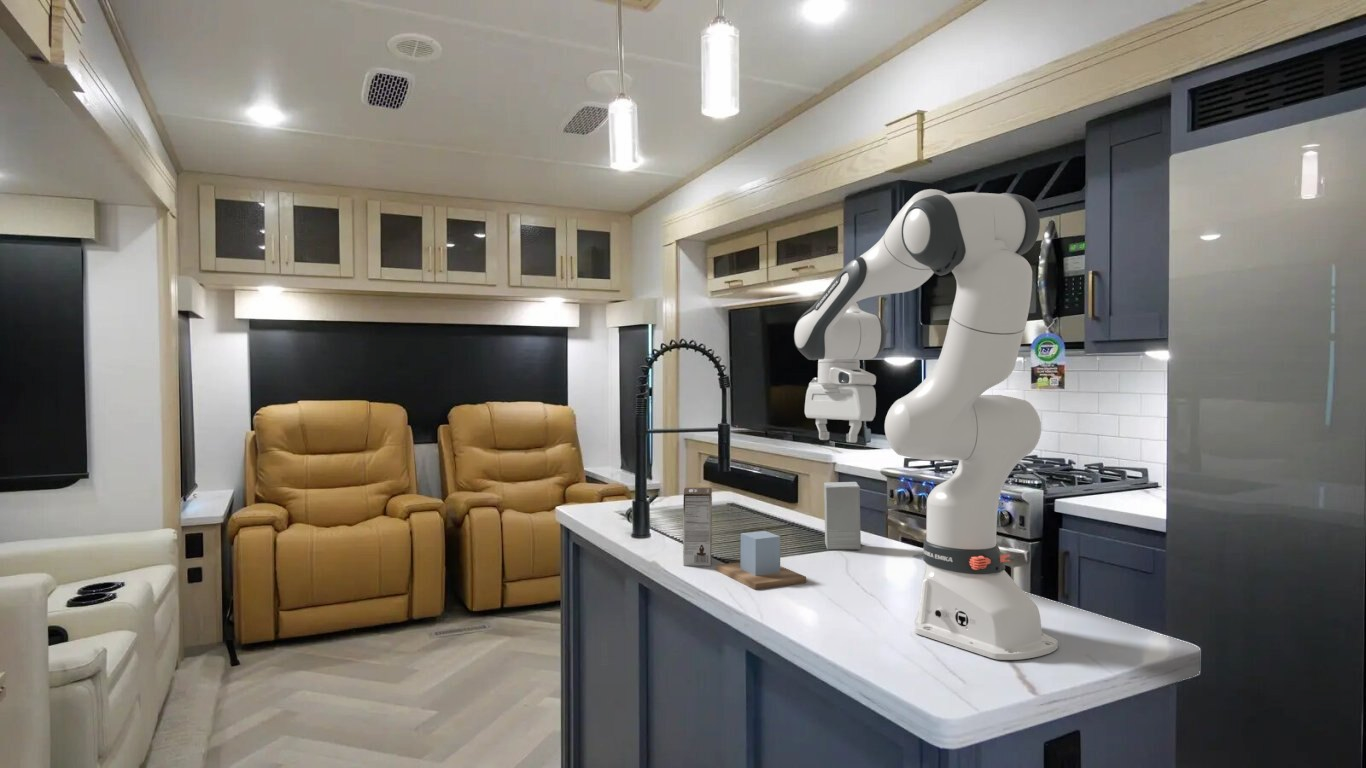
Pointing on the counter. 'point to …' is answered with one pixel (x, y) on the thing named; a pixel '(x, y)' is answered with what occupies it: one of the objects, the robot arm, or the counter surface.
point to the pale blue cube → (760, 553)
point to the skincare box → (842, 515)
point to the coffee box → (697, 526)
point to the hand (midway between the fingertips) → (837, 441)
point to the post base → (761, 576)
